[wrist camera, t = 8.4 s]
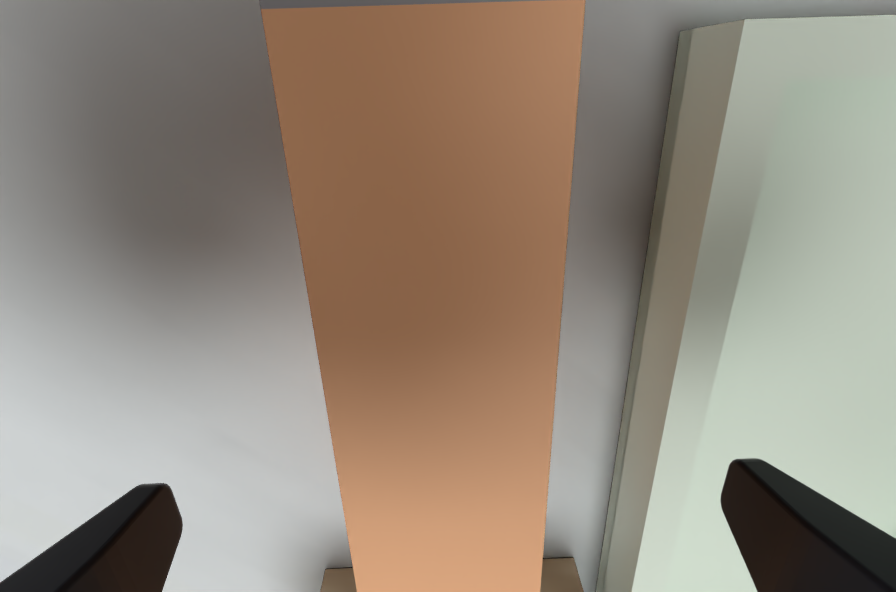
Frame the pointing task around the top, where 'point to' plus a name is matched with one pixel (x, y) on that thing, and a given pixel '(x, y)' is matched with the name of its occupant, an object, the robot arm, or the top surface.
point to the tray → (762, 295)
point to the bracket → (556, 588)
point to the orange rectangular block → (434, 268)
